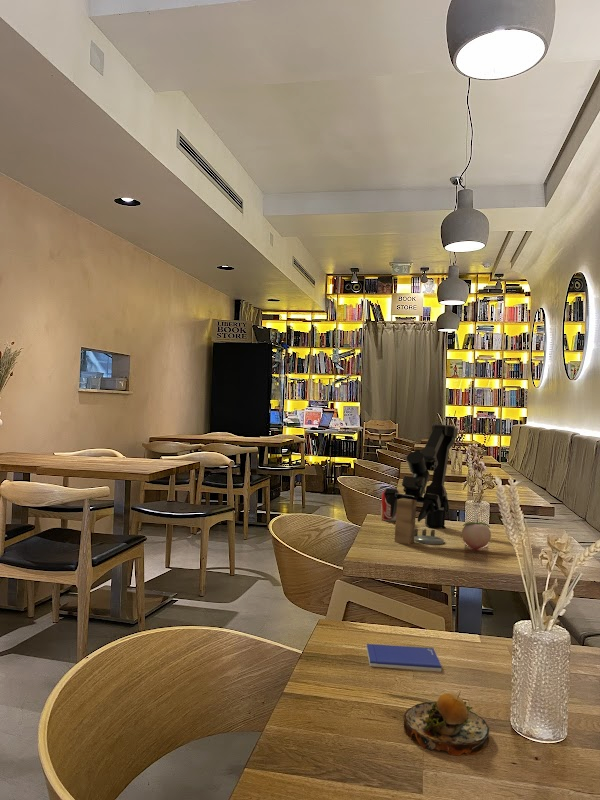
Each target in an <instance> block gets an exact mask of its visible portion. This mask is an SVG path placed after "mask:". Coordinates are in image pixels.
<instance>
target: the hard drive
mask: <svg viewBox="0 0 600 800" xmlns="http://www.w3.org/2000/svg"><path fill="white" fill-rule="evenodd" d="M365 649H366V653H367V658H368V662H369V667H377V668H378V667H379V668H387V669H389V668H391V669H404V670H413V671H414V670H415V671H433V672H440V673H441V672H442V664H441V661H440V659H439V657H438V655H437V653H436V651H435V649H434V648H433V647H419V646H406V645H405V646H404V645H393V644H392V645H390V644H376V643H375V644H374V643H373V644H372V643H367V644H366V648H365Z"/></svg>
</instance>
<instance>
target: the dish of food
mask: <svg viewBox="0 0 600 800" xmlns="http://www.w3.org/2000/svg"><path fill="white" fill-rule="evenodd" d="M460 694H461V690H460V691H459V693H458V695H457V694H456V693H453V692H445V693H442V694H440V695H439V696H438V698H437V700H436V702H434V701H433V702H432V701H431V702H430V701H429V702H428V701H427V702H426V701H425V702H421V703H417V704H415V705H413V706H412V707H410V708H408V709H407V710H406V711H405V712H404V713H403V714H402V715H403V716H402V718H403V732H404V733H406V736H407V737H409V738H410V740H413V734H414V736H415V738H416V741H417V743H418V744H419V746H421V747H422V748H424V749H426V748H427V749H428V750H429V751H433V750H434V749H435V750H438V752H440V751H441V750H442V751H446V752H447V754H448V755H449V756H453V755H454V756H461V755H462V754H464V753H465V754H466V756H473V755H477V754H478V753H481V752H482V751H484V750H486V749H487V747H488V746H489V744H490V737H489V734H490V727H489V725H488V723H487V721H485V720H484V719H483V717H482V716H480V715H478V714H477V713H476V712H474V711H471V710H473V706H468V705H467V701H464V700H463V699H462V698H461V696H460Z"/></svg>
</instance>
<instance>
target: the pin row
mask: <svg viewBox="0 0 600 800" xmlns="http://www.w3.org/2000/svg"><path fill="white" fill-rule="evenodd" d="M418 531H419V529H418V528H415V533H414V536H419V534H418V533H419V532H418ZM421 531H422V532H421V535H425V536H427V529H426V528H422V529H421ZM430 536H434V537H436V530H435V529H430Z"/></svg>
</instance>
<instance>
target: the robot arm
mask: <svg viewBox="0 0 600 800" xmlns="http://www.w3.org/2000/svg"><path fill="white" fill-rule="evenodd" d="M458 434H459V431H458V429H457V428H456V426H455V425H449V424H447V425H445V424H432V429H431V433H430V435H429V436H428V439H427V442H426V443H425V446H424V448H422V449H417V448H415V450H414V451H411V452H409V454H408V455H407V456H406V461H407V464H408V468H409V472H410V473H412V474H411V476H408V475H404V476H403V477H402V483H401V486H402V487H403V489H402V490H403V492H404V493H400V492H399V493H398V490H399V489H397V488H391V487H387V488H385V489H386V490H385V492H384V491H383V492H384V495H385V498H386V501H387V503H389V504H390V505H391V517H392V518H393V517H394V515H395V513H396V510H397V500H398V499H401V498H406V499H413V500H417V503H416V504H422V507H421V509H420V511H419V513H418V518H417V522H418V523H419V522H421V521H422V520H423V519H424V525H425V526H426V527H427V528H434V529H446V528H447V527H446V526H445V524H446V523H445V521H446V513H450V502H449V499H448V492H447V490H446V487H445V481H446V473H447V468H448V460H449V455H450V449H451V448H452V447H453V446H454V445H455V443H456V439H457V438H458ZM430 472H433V473H432V479H431V483H430V484H428V483H429V482H430V477H431V476H430ZM427 484H428V485H427Z"/></svg>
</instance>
